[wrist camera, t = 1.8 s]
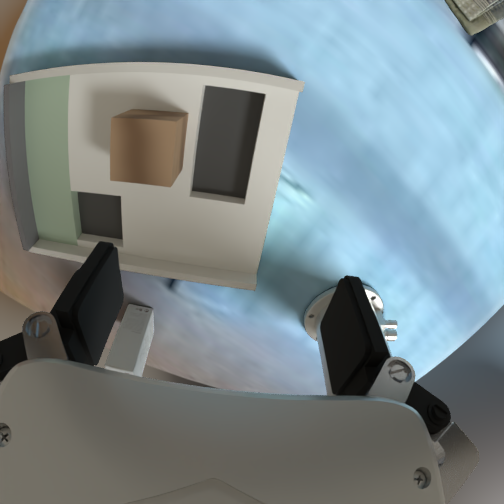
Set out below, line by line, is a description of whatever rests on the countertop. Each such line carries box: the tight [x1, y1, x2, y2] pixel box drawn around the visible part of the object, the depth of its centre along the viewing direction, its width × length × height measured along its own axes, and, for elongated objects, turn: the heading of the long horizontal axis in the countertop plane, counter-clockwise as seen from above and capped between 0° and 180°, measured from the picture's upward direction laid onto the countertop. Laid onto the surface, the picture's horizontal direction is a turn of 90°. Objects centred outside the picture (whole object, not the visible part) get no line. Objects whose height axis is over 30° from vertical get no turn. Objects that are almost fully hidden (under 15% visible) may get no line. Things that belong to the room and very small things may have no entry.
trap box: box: [4, 62, 305, 291], centre depth 29 cm, size 32×24×5 cm
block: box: [110, 109, 189, 187], centre depth 26 cm, size 6×6×5 cm
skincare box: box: [105, 304, 154, 377], centre depth 40 cm, size 6×4×12 cm
